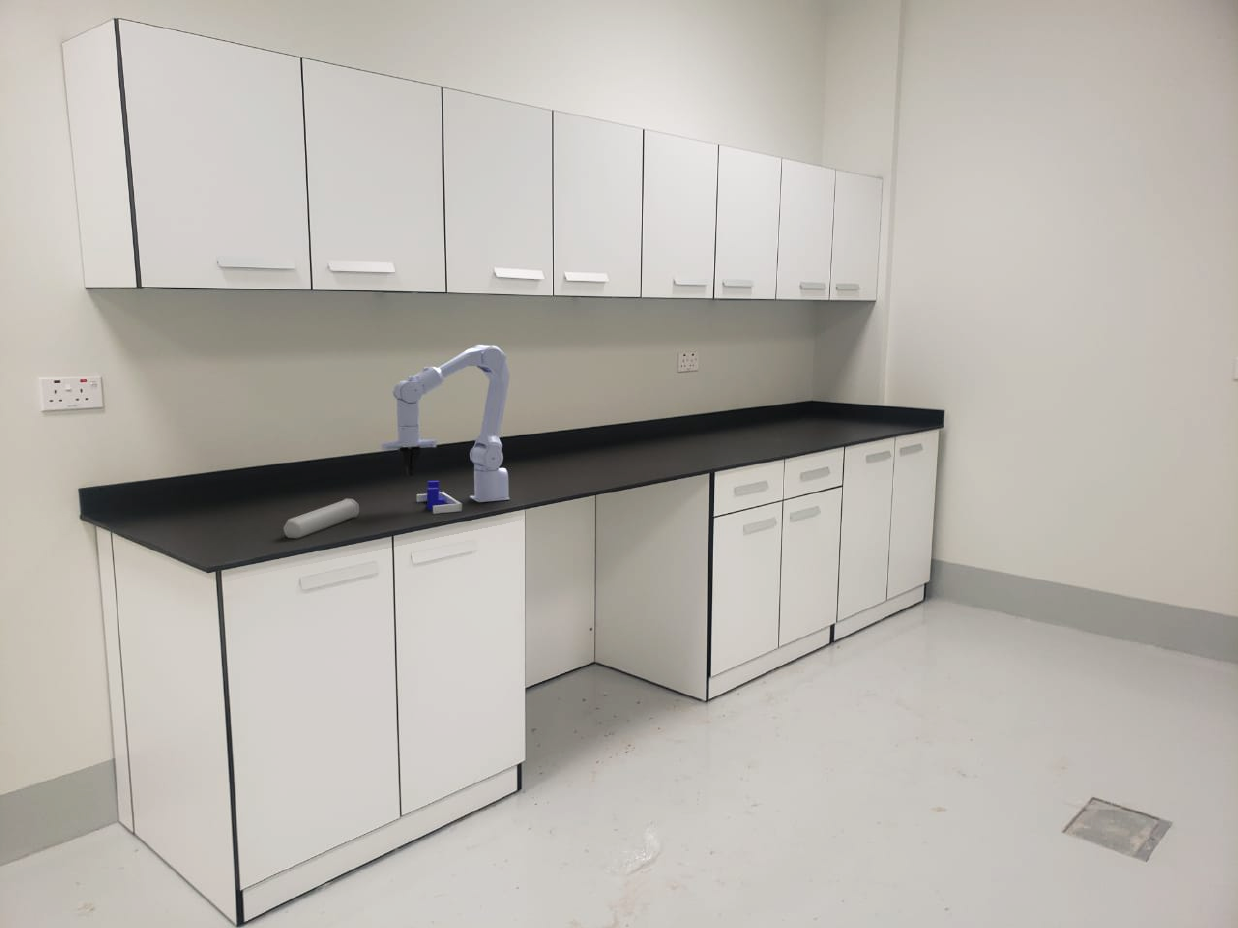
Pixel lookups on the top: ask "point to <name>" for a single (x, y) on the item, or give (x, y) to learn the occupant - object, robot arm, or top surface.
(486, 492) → the robot arm
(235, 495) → the top surface
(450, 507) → the bracket
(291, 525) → the tube
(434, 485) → the cable clip
